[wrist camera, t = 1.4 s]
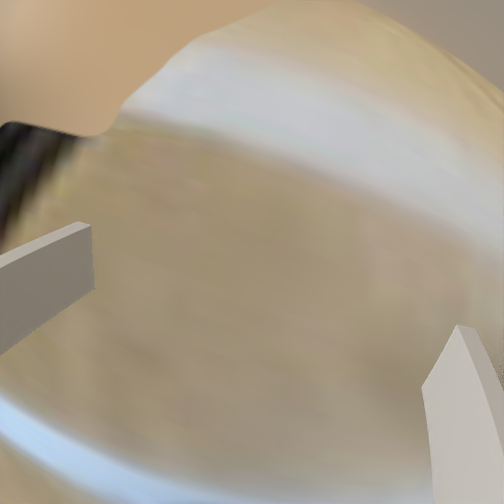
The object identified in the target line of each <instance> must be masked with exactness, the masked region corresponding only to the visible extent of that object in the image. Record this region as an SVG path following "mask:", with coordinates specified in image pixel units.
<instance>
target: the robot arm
mask: <svg viewBox="0 0 504 504" xmlns="http://www.w3.org/2000/svg"><path fill="white" fill-rule="evenodd" d="M93 289H95V283H94V271H93V255H92V230H91V225H89V224H85V223H82V222H79V221H78V222H75V223H73V224H70V225H68V226H65V227H63V228H61V229H58V230H56V231H54V232H51V233H49V234H46V235H44V236H42V237H40V238H37V239H35V240H33V241H31V242H28V243H26V244H24V245H22V246H20V247H17V248H15V249H13V250H11V251H9V252H7V253H5V254H2V255H0V356H1V355H2V354H3V353H5V352H6V351H7V350H9V349H10V348H11V347H13V346H14V345H15V344H17V343H18V342H19V341H21V340H22V339H23V338H25V337H26V336H28V335H29V334H30V333H32V332H33V331H34V330H36V329H37V328H39V327H40V326H41V325H43V324H44V323H46V322H47V321H48V320H50V319H51V318H53V317H54V316H56V315H57V314H58V313H60V312H61V311H63V310H64V309H66V308H67V307H68V306H70V305H71V304H73V303H74V302H76V301H77V300H79V299H80V298H82V297H83V296H84V295H86V294H87V293H89V292H90V291H92V290H93ZM421 388H422V394H423V400H424V406H425V413H426V420H427V428H428V436H429V445H430V454H431V466H432V479H433V500H434V504H504V391H503V388H502V386H501V383H500V381H499V379H498V376H497V374H496V372H495V370H494V367H493V365H492V363H491V361H490V359H489V356H488V354H487V352H486V350H485V348H484V346H483V344H482V342H481V340H480V338H479V336H478V334H477V332H476V330H475V328H470V327H466V326H462V325H458V324H456V326H455V328H454V330H453V332H452V334H451V336H450V338H449V340H448V342H447V344H446V346H445V348H444V349H443V351H442V353H441V355H440V357H439V358H438V360H437V362H436V364H435V365H434V367H433V369H432V371H431V372H430V374H429V376H428V377H427V379H426V381H425V382H424V384H423V385H422V387H421Z"/></svg>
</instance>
